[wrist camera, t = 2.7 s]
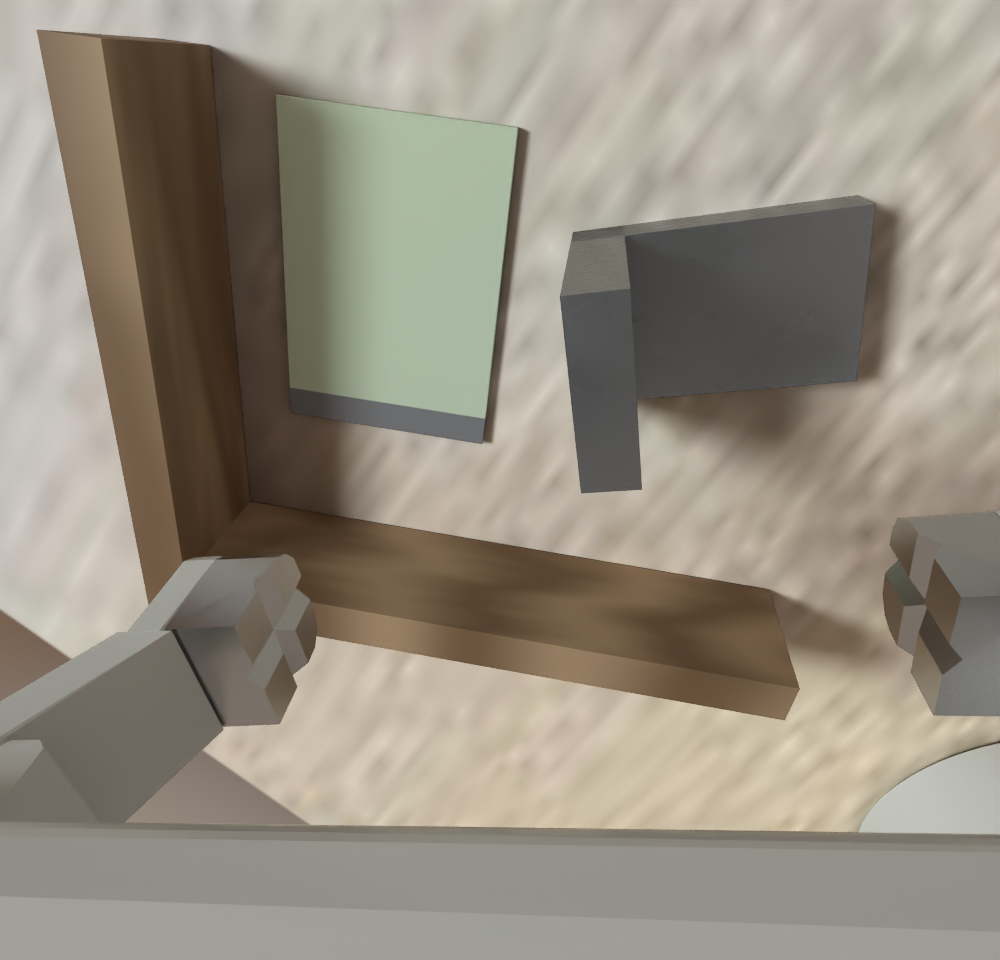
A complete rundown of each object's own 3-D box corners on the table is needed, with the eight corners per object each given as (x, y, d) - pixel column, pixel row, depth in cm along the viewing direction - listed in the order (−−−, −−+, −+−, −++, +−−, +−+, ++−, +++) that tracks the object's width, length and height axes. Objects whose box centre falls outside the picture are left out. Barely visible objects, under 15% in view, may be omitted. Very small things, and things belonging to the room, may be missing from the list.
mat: (518, 127, 20) (517, 127, 20) (483, 440, 25) (482, 443, 25) (280, 94, 20) (275, 95, 20) (294, 409, 25) (290, 413, 25)
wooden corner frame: (948, 143, 19) (1049, 165, 14) (756, 618, 27) (784, 720, 23) (159, 38, 20) (36, 29, 16) (217, 526, 29) (149, 605, 24)
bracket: (857, 195, 20) (968, 250, 14) (841, 362, 22) (929, 472, 16) (573, 231, 21) (560, 296, 15) (587, 385, 24) (581, 493, 18)
